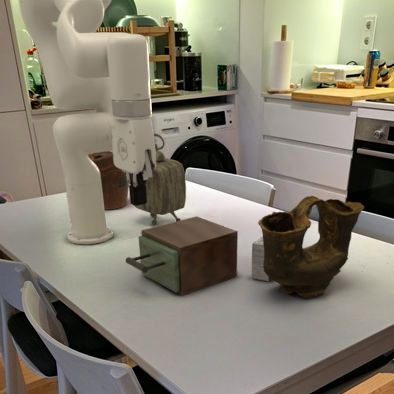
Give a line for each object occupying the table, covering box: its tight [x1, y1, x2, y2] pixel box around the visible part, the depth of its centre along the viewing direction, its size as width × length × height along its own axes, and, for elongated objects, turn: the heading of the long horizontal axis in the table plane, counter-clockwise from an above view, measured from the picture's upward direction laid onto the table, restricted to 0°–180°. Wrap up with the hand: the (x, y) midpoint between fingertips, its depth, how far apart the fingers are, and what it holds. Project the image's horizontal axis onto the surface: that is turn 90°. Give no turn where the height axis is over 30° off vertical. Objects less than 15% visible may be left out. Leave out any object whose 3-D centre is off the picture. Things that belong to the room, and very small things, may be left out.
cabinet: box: [140, 215, 239, 297], centre depth 116 cm, size 16×15×11 cm
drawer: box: [125, 234, 180, 293], centre depth 113 cm, size 20×14×9 cm
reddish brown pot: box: [88, 151, 129, 210], centre depth 167 cm, size 18×20×18 cm
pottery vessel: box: [257, 195, 365, 299], centre depth 106 cm, size 25×11×20 cm, turn 123°
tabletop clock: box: [134, 133, 187, 226], centre depth 147 cm, size 14×9×25 cm, turn 50°
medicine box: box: [250, 236, 271, 282], centre depth 116 cm, size 8×4×9 cm, turn 148°
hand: (138, 203), depth 108 cm, fingers closed
